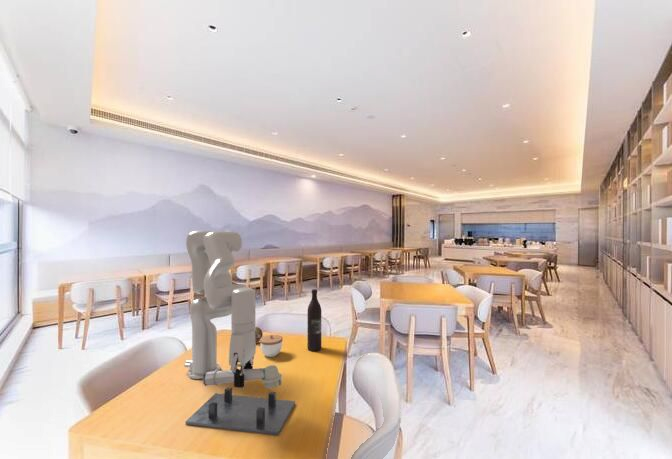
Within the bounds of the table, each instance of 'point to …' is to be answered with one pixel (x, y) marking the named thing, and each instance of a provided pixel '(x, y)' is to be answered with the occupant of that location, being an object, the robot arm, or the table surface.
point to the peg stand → (243, 413)
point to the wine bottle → (314, 323)
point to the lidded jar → (271, 345)
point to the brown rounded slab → (258, 334)
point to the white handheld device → (245, 376)
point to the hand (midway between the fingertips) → (243, 381)
